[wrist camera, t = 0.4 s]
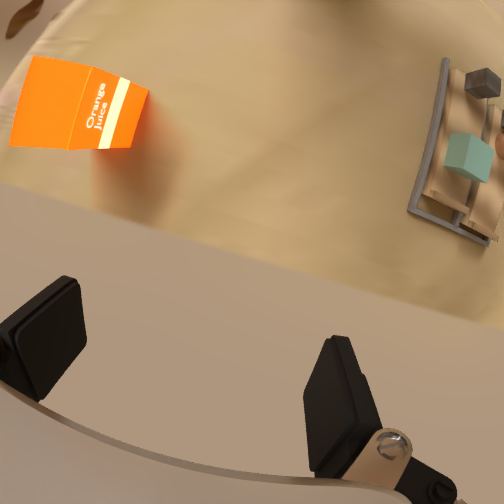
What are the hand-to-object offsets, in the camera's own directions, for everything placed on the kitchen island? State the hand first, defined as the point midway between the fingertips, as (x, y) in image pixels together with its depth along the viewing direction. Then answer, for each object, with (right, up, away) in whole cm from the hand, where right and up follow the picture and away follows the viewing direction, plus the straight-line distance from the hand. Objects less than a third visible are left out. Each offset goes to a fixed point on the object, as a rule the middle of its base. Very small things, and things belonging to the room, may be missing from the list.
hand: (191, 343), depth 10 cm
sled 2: (+41, +17, +24) cm, 50 cm away
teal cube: (+32, +17, +22) cm, 42 cm away
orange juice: (-17, +23, +25) cm, 38 cm away
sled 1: (+32, +20, +23) cm, 45 cm away
